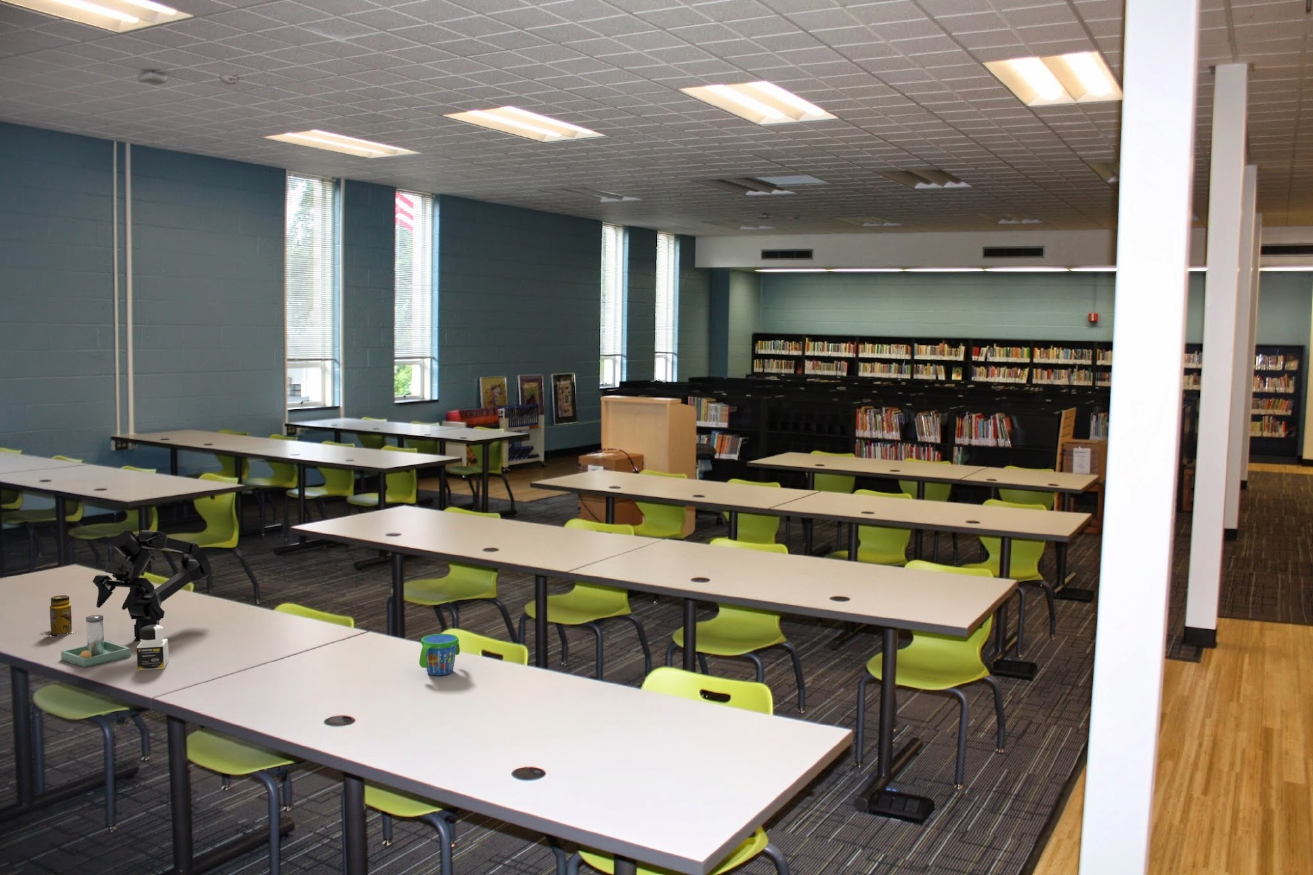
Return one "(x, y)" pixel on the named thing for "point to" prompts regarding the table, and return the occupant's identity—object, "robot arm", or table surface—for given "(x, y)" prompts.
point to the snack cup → (439, 653)
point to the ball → (86, 654)
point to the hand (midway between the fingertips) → (110, 608)
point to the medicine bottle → (152, 648)
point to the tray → (110, 654)
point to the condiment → (60, 616)
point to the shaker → (95, 634)
